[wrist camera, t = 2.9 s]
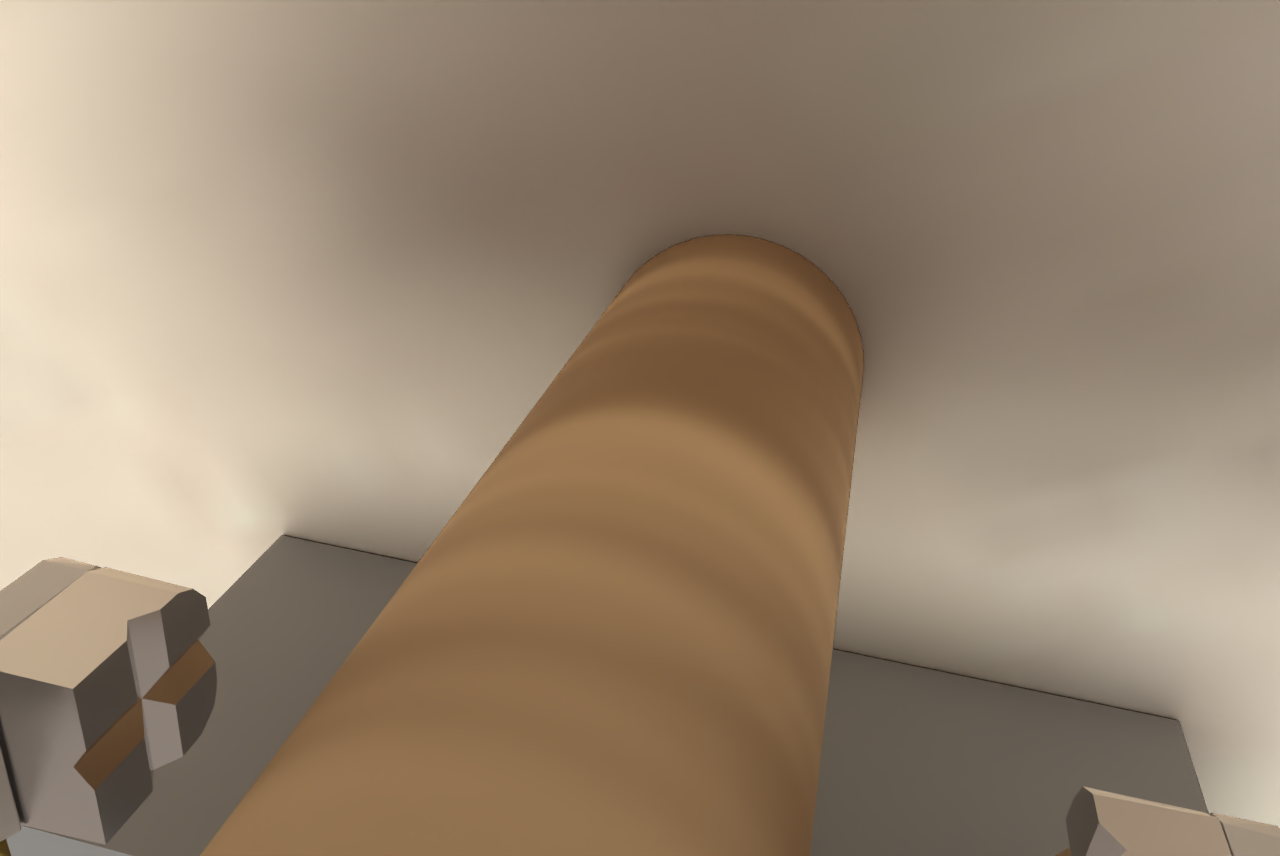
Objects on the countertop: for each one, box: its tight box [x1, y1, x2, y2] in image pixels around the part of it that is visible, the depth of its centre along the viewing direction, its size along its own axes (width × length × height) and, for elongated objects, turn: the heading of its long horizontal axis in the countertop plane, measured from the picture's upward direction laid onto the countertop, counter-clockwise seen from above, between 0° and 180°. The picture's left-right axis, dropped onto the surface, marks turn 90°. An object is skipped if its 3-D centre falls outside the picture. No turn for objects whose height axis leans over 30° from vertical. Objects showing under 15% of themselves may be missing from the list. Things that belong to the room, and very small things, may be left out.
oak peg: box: [200, 235, 864, 856], centre depth 11 cm, size 4×4×12 cm
